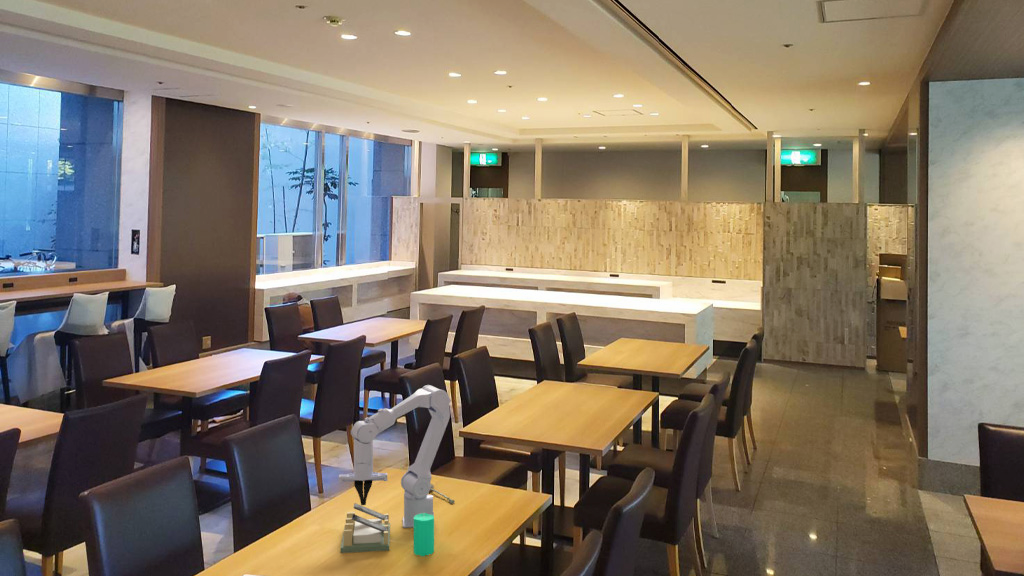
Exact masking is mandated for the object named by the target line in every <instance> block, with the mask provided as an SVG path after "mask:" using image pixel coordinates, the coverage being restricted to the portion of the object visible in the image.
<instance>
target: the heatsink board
mask: <svg viewBox="0 0 1024 576" xmlns="http://www.w3.org/2000/svg"><path fill="white" fill-rule="evenodd" d="M353 514H355V515H356V511H347V512H346V517H345V523H344V527H343V532H342V539H341V544H340V554H346V553H349V554H350V553H365V552H366V553H367V552H385V551H390V545H391V544H390V543H391V542H390V540H391V539H390V538H391V523H390V520H389V519H390V518H389V516H390V514H389V513H384V515H386V516H388V519H385V520H381V519H379V518H371V519H370V518H369V519H368V518H367V520H370V521H372V522H375V523H377V524H380V525H382V526H385V527H388V531H384V532H381V531H379V530H376V529H374V528H371V527H369V526H366V525H364V524H361V523H359V522H356V521H354V520H352V515H353ZM383 521H384V523H383Z"/></svg>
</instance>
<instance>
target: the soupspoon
mask: <svg viewBox="0 0 1024 576" xmlns="http://www.w3.org/2000/svg"><path fill="white" fill-rule="evenodd" d="M434 487H435V485H434V484H432V483H431V482H430V491H431V492H434V493H436V494H439V495H440V496H442V497H444V498H446V499H447V500H448V502H449V503H450V504H454V503H455V499H452V498H450V497H449V496H447V495H446V494H443V493H442V492H440V491H438V490H436V489H434Z"/></svg>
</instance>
